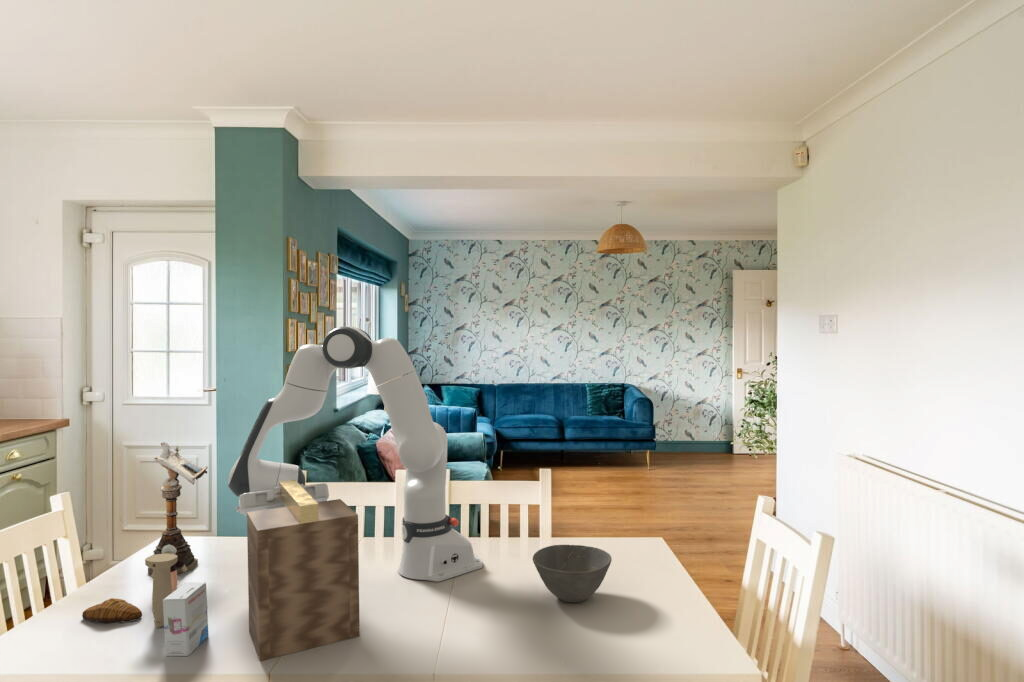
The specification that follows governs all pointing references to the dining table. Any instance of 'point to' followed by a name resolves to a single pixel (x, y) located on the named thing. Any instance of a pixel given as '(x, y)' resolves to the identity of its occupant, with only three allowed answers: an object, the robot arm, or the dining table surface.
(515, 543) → the dining table surface
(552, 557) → the bowl
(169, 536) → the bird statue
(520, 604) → the dining table surface
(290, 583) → the walnut stand
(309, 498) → the brass bar
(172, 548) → the grandmother figurine
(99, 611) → the croissant
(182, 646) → the ink box
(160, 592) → the handle
